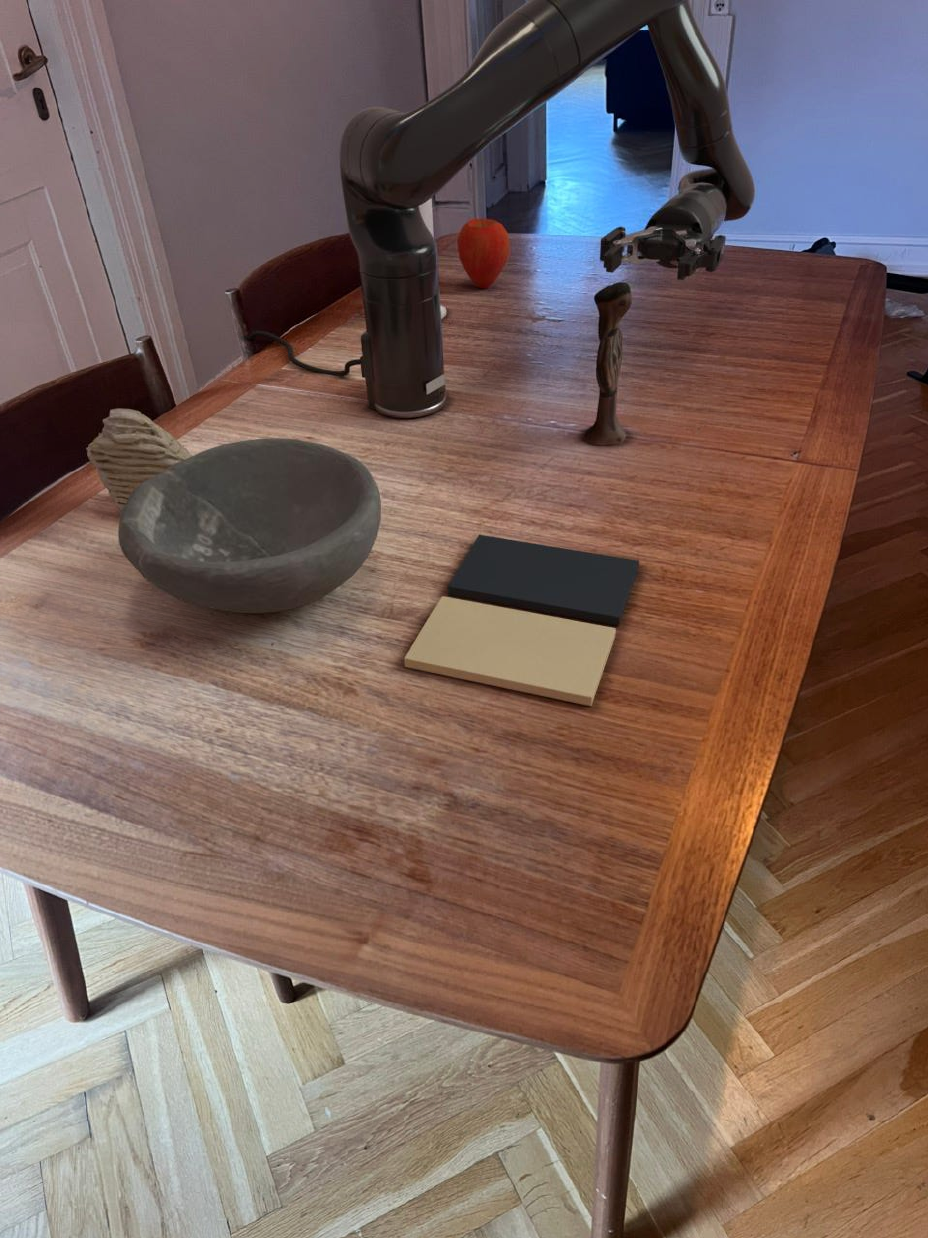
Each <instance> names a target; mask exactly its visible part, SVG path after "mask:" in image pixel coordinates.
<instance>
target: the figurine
mask: <svg viewBox="0 0 928 1238" xmlns="http://www.w3.org/2000/svg"><path fill="white" fill-rule="evenodd" d="M593 300H594V304H595V306H596V308H597V311H598V324H597V325H598V326H597V328H598V329H597V335H598V341H599V343H598V349H597V355H596V361H595V378H596V382H597V387H598V388H599V389H598V390H599V393H598V402H597V409H596V410H597V411H596V418H595V421H594V423H593V424H592V425H591V426H589V427H588V428H586V430H585V431H584V433H583V440H584V441H585V442H586V443H588V444H591V445H594V446H616V445H619V444H622V443H623V442H624V441H625V439H626V437H627V433H626V431H625V430H624V428H623V427H622V426H621V424H620V423H619V420H618V416H617V404H618V401H617V400H618V385H619V376H620V371H621V366H622V363H623V362H622V361H623V353H624V352H623V350H624V349H623V339H624V338H623V333H622V331H621V329H620V328H619V326H620V323H621V321H622V319H623V317H624V316H625V315H626V314H627V312H629V310H630V309H631V306H632V303H633V296H632V289H631V286H630V284H629V283H627V282H624V281H618V282H615V283H613V284H609V285H607V286H605V287H604V288H602V289H600V290H598V291H597V292H596V293H595V294H594V296H593Z"/></svg>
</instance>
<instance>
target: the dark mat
mask: <svg viewBox="0 0 928 1238" xmlns="http://www.w3.org/2000/svg"><path fill="white" fill-rule="evenodd" d="M639 569H640V560H638V559H632V558H626V557H619V556H614V555H607V554H601V553H596V552H595V553H594V552H590V551H589V552H588V551H584V550H583V551H582V550H576V549H571V548H564V547H557V546H553V545H552V546H551V545H545V544H540V543H534V542H527V541H521V540H515V539H509V538H502V537H496V536H490V535H483V534H478V536H477V537H476V539H475V541H474V543H473V544H472V545H471V547H470V548H469V551H468V552H467V554H466V556H465V557H464V559H463V561H462V562H461V564H460V565H459V567H458V569H457V570H456V572H455V573H454V576H453V577H452V578H451V580H450V582H449V584H448V585H447V594H448V595H450V596H454V597H461V598H464V599H470V600H476V601H481V602H482V601H483V602H487V603H492V604H498V605H503V606H507V607H508V606H509V607H514V608H520V609H525V610H531V611H536V612H540V613H547V614H552V615H558V616H562V617H563V616H564V617H567V618H572V619H573V618H574V619H579V620H583V621H584V620H585V621H591V622H595V623H601V624H605V625H611V626H617V627H619V626H620V624H621V621H622V619H623V615H624V613H625V609H626V606H627V604H628V602H629V601H628V600H629V597H630V595H631V592H632V589H633V586H634V583H635V580H636V579H637V578H636V577H637V574H638V571H639Z"/></svg>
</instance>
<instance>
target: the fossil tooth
mask: <svg viewBox="0 0 928 1238" xmlns="http://www.w3.org/2000/svg"><path fill="white" fill-rule="evenodd" d="M102 423H103V428H102V429H101V430H102V431H101V432H99V433H98V436H97V437H95V438H94V439H93V440H92V442H90V443H89V444H88V447H86V448H85V450H86V451H87V452H86V454H87V458H88V460H89V461H90V462H91V463H92V465H93V467H94V468H96V469H97V474H98V478H99V479H100V481H101V483H102V485H103V487H104V488H106V489H107V490H108V495H109V496H110V498H112V499H113V501H114V504H115V505H116V506H117V508H118V509H120V510H121V511H122V509H123V507H124V505H125V504H126V502H127V500H128V498H129V496H130V495H131V493H132V491H133V490H134V489H135V488H136V487H137V486H139V485H140V484H141V483H143V482H144V481H146V480H148V479H149V478H151V477H153V476H155V475H158V474H160V473H162V472H165V471H166V470H167V469H168V468H169V467H171V466H172V465H174V464H176V463H178V462H180V461H182V460H185V459H188V458H190V457H192V456H193V454H191V452H190V451H189V450H188V449H187V448H185V447H184V446H183V445H182V444H181V443H180V441H178V439H176V438H175V437H173V436H172V434H171V433H169V432H168V431H166V430H165V429H164V428H162V427H161V426H160V425H158V424H156V422H153V420H152V419H151V418H150V417H148V416H146V415H145V414H144V413H142V412H140V411H139V410H135V409H131V408H119V407H118V408H113V409H110V410H109V416H107V417H106V418H103V419H102Z"/></svg>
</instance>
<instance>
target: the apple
mask: <svg viewBox="0 0 928 1238" xmlns="http://www.w3.org/2000/svg"><path fill="white" fill-rule="evenodd" d="M456 245H457V251H458V256H459V260H460V263H461V264H462V267H463V270H464V271H465V273H466V274H467V276H468V277H469V280H471V282H472V283H473V284H474V286H475V287H477V288H478V289H484V290H486V289H488V288H490V287H491V286H492V285H493V284H494V283H495V282H496V280H497V278H498V277H499V276H500V275H501V272H502V271H503V269H504V268H505V266H506V264H507V262H508V260H509V258H510V254H511V241H510V237H509V235H508V232H507V230H506V229H505V227H504V226H503V224H502V223H500V222H498V221H496V220H495V219H489V218H473V219H470V220H469V221H466V223H465V224H463V226H462V227H461V229H460V231H459V233H458V238H457V241H456Z"/></svg>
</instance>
